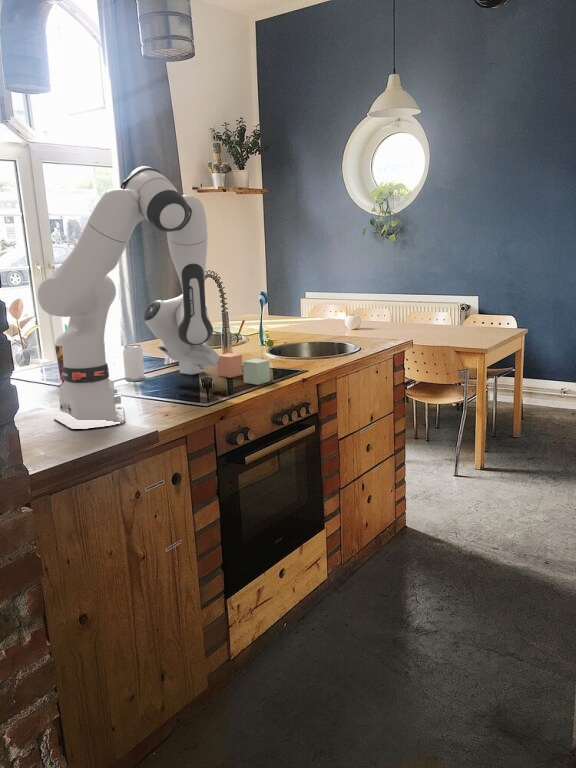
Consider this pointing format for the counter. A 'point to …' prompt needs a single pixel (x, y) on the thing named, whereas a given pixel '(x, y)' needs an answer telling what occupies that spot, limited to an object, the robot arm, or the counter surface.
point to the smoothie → (60, 354)
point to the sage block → (256, 371)
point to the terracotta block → (230, 365)
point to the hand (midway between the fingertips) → (204, 367)
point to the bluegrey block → (189, 368)
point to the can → (133, 362)
